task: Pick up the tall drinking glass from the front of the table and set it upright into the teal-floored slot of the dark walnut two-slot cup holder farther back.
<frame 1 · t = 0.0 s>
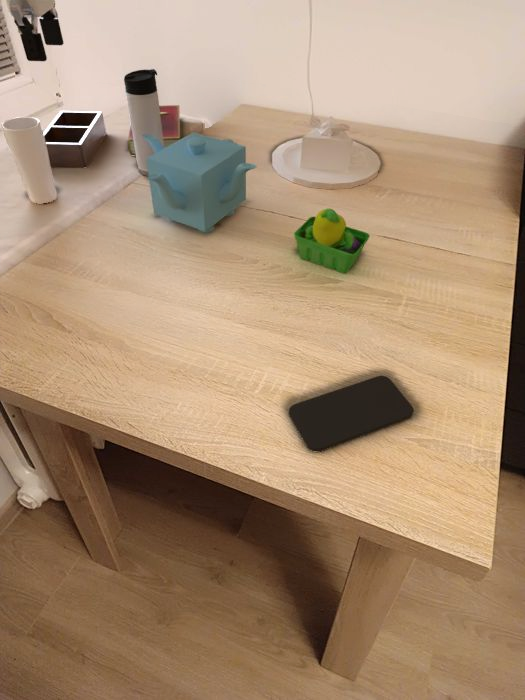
hand: (46, 52, 88), 25 cm above the table, tool pointing down, fingers open, 9 cm apart
phone: (350, 414, 64), on the table
hardcover book: (157, 138, 125), on the table
fruit basket: (327, 261, 88), on the table
drinking glass: (44, 199, 102), on the table
dish: (325, 164, 116), on the table
teakettle: (198, 218, 98), on the table
cup holder: (75, 149, 119), on the table
travel mug: (153, 170, 112), on the table
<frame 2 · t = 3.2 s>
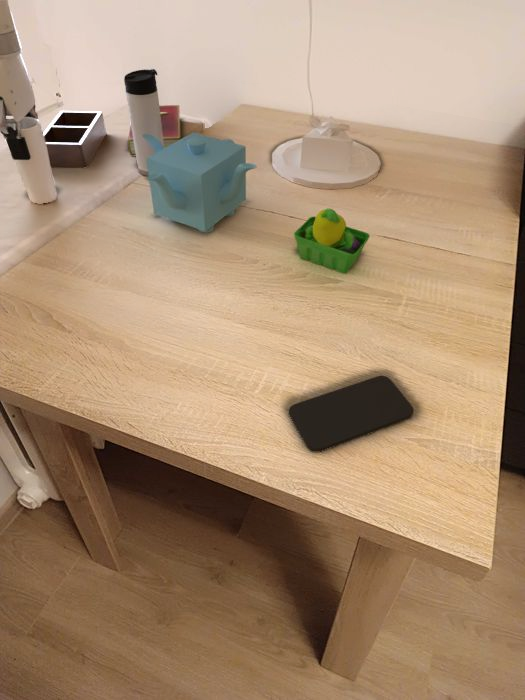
hand: (28, 149, 95), 10 cm above the table, tool pointing down, fingers closed on drinking glass, 6 cm apart
drinking glass: (44, 199, 102), on the table, touching gripper
everything else where it was.
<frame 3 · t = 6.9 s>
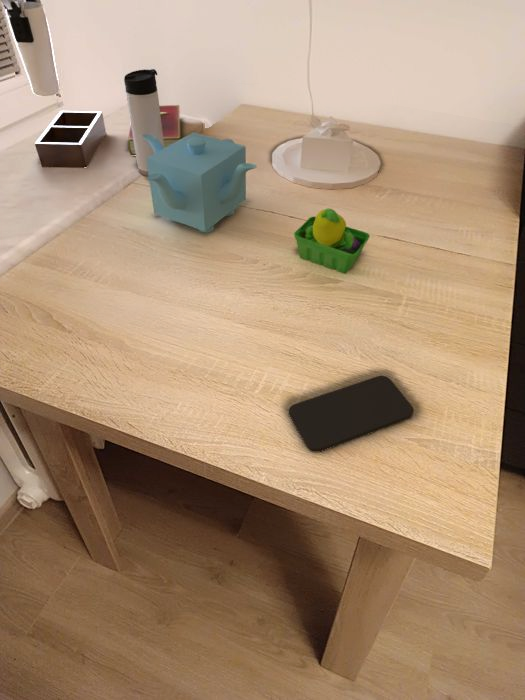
hand: (32, 35, 95), 25 cm above the table, tool pointing down, fingers closed on drinking glass, 6 cm apart
drinking glass: (47, 93, 103), point 15 cm above the table, touching gripper
everything else where it was.
when the fingers open (11 cm above the table, at t = 10.8 s): drinking glass stays where it is, resting on cup holder.
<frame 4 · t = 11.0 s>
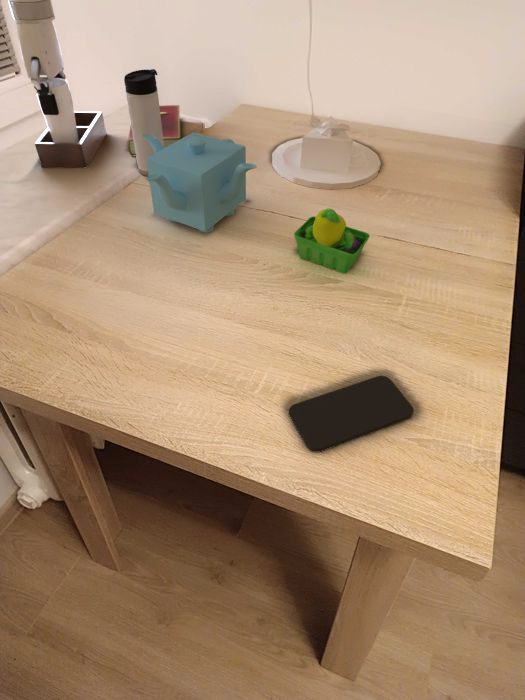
hand: (57, 106, 107), 11 cm above the table, tool pointing down, fingers open, 7 cm apart
drinking glass: (69, 154, 115), point 1 cm above the table, touching cup holder
everything else where it was.
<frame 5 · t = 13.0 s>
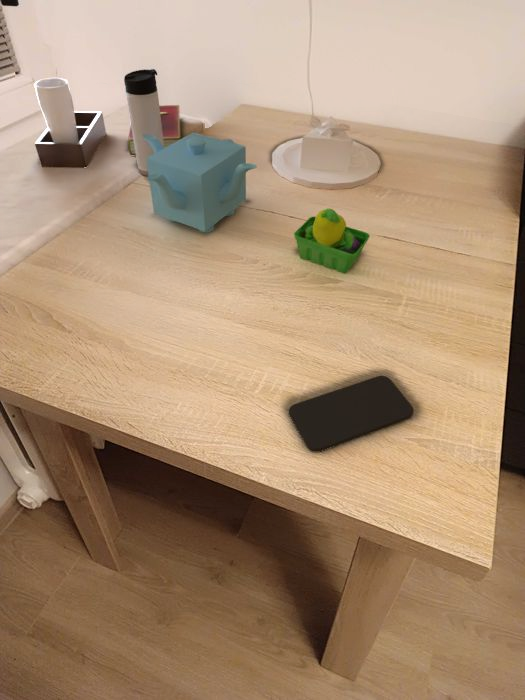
hand: (1, 11, 94), 29 cm above the table, tool pointing down, fingers open, 9 cm apart
nothing on the table moved.
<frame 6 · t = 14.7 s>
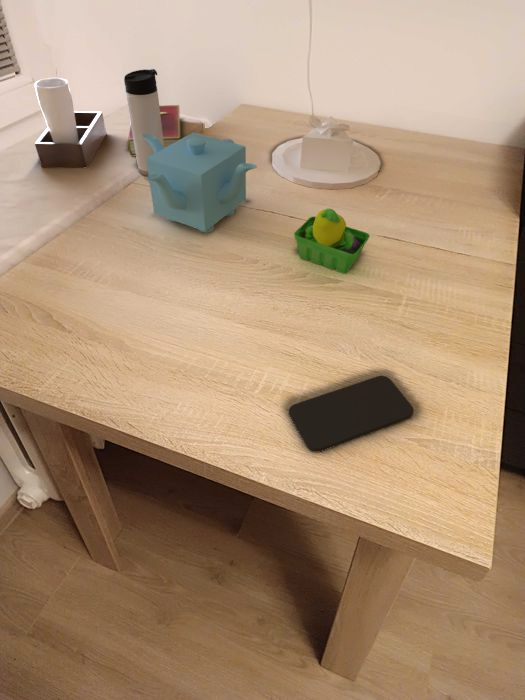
nothing on the table moved.
at the end: drinking glass 0.1 cm from the target spot in the cup holder, point 0.8 cm above the cup holder's base; drinking glass tilted 0° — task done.
